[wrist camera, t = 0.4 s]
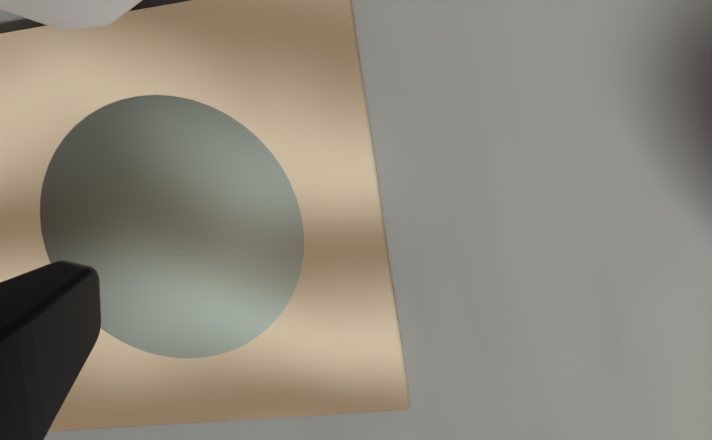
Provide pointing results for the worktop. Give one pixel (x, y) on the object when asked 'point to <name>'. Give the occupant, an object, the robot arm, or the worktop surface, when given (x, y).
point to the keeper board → (206, 210)
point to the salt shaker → (70, 11)
